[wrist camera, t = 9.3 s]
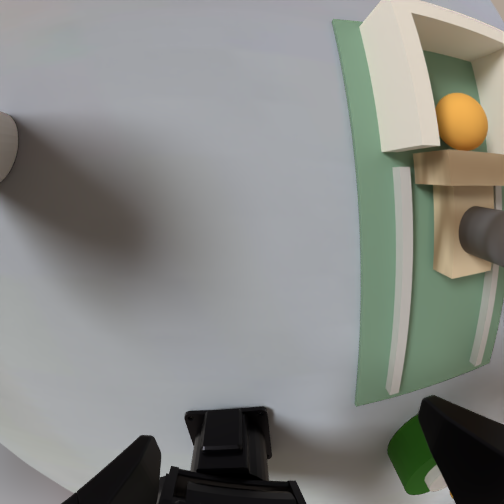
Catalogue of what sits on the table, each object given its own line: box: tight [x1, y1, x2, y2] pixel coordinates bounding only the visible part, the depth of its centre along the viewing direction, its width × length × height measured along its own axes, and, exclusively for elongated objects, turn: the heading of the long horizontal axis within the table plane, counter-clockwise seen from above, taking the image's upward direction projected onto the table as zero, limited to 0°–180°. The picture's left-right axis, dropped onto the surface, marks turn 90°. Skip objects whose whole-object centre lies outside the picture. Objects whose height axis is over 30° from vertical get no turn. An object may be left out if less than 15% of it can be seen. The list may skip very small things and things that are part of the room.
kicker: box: [413, 150, 504, 279], centre depth 14 cm, size 8×7×8 cm
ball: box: [435, 93, 488, 151], centre depth 15 cm, size 4×4×4 cm
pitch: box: [332, 0, 504, 406], centre depth 17 cm, size 29×15×5 cm, turn 6°
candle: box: [387, 415, 453, 498], centre depth 19 cm, size 8×8×10 cm
